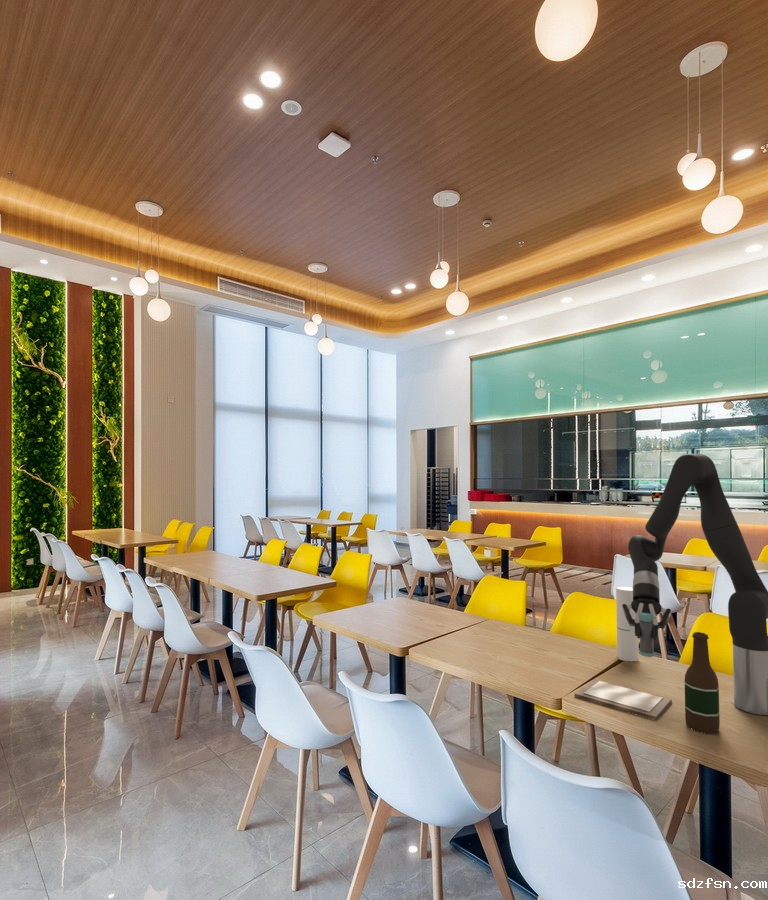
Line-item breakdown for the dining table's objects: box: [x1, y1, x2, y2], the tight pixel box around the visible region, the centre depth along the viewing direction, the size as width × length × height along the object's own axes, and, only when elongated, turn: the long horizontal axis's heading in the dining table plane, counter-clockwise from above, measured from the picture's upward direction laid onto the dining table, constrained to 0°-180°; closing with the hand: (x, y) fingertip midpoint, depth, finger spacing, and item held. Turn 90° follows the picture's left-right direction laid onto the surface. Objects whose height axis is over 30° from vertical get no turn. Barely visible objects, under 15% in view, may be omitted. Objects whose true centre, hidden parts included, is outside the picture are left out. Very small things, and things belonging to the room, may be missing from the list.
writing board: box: [574, 678, 673, 721], centre depth 152 cm, size 22×16×1 cm
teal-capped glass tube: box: [639, 612, 655, 658], centre depth 155 cm, size 4×4×12 cm
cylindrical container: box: [615, 586, 640, 662], centre depth 190 cm, size 7×7×25 cm
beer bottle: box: [684, 631, 721, 735], centre depth 136 cm, size 8×8×24 cm
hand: (646, 637), depth 154 cm, fingers closed on teal-capped glass tube, 3 cm apart
